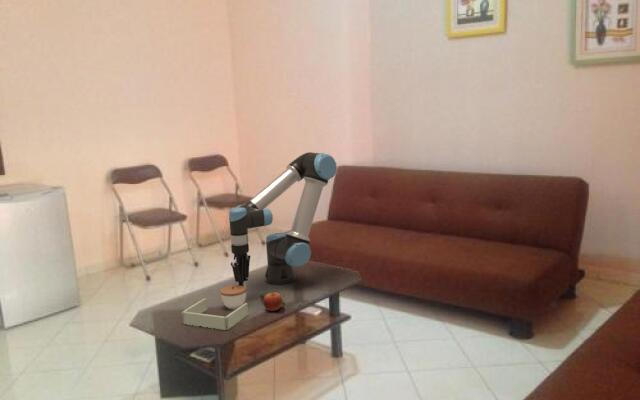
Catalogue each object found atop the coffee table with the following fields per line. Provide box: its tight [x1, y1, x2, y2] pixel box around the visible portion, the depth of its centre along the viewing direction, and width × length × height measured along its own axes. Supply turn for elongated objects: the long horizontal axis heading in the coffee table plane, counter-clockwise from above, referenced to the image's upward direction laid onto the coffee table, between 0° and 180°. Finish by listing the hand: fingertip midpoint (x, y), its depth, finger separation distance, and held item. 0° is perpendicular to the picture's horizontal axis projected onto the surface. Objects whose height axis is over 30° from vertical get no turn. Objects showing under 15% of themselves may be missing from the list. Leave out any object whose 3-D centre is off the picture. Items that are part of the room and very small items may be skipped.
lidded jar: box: [220, 284, 247, 310], centre depth 228 cm, size 11×11×9 cm
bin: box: [180, 298, 249, 331], centre depth 215 cm, size 16×21×5 cm
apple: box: [262, 291, 284, 312], centre depth 223 cm, size 8×8×8 cm
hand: (243, 295), depth 236 cm, fingers closed
